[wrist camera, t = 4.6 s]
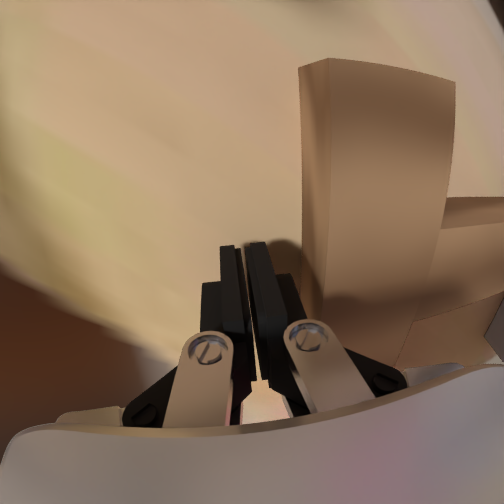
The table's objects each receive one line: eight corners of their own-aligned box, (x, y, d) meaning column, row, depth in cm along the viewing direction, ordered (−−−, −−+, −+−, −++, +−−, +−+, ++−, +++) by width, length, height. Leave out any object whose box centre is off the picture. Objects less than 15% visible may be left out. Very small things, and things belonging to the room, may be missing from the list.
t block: (297, 67, 8) (328, 57, 6) (523, 116, 9) (560, 129, 7) (296, 364, 16) (307, 406, 13) (472, 316, 17) (493, 341, 14)
